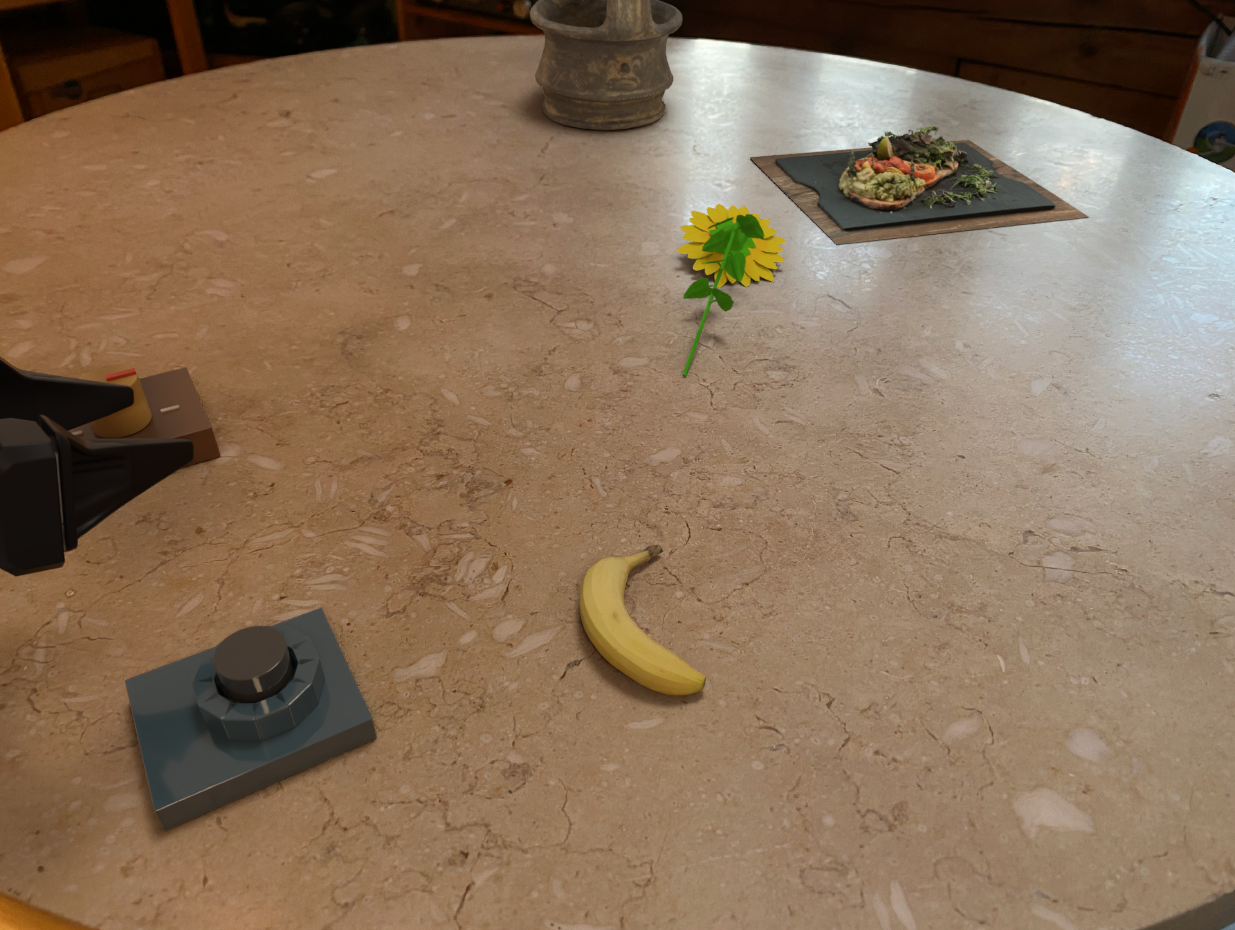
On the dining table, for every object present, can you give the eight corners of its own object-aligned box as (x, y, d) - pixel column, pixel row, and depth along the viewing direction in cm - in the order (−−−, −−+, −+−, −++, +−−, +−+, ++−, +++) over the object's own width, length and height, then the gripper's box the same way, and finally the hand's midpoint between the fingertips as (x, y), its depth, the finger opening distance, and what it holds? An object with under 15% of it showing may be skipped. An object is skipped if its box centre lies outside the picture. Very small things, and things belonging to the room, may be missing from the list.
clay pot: (528, 136, 135) (519, -107, 116) (537, 85, 153) (530, -132, 134) (681, 138, 135) (697, -103, 116) (672, 87, 153) (684, -128, 134)
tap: (96, 445, 72) (77, 399, 70) (88, 415, 75) (70, 370, 72) (156, 428, 74) (140, 383, 71) (147, 400, 77) (131, 355, 74)
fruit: (660, 549, 69) (662, 519, 67) (718, 695, 59) (722, 664, 57) (562, 565, 68) (561, 534, 66) (604, 716, 57) (605, 686, 56)
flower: (733, 430, 91) (795, 225, 107) (757, 378, 84) (819, 166, 100) (616, 390, 92) (694, 192, 108) (629, 335, 85) (711, 131, 100)
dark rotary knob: (230, 713, 53) (221, 690, 51) (214, 664, 55) (205, 641, 54) (301, 685, 54) (294, 662, 53) (282, 638, 57) (275, 616, 56)
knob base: (164, 831, 51) (142, 790, 48) (134, 700, 58) (113, 658, 55) (377, 738, 56) (367, 696, 53) (326, 627, 63) (316, 585, 60)
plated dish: (839, 247, 109) (850, 185, 104) (745, 161, 130) (751, 107, 125) (1091, 219, 117) (1112, 162, 113) (964, 143, 138) (977, 92, 134)
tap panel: (83, 499, 72) (68, 467, 70) (67, 428, 79) (53, 397, 77) (221, 458, 76) (212, 427, 74) (195, 395, 83) (185, 364, 81)
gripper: (-224, 345, 33) (227, 322, 43) (-260, 238, 45) (99, 240, 55) (-171, 621, 37) (229, 539, 47) (-217, 454, 49) (110, 418, 59)
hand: (161, 420), depth 52 cm, fingers open, 9 cm apart
